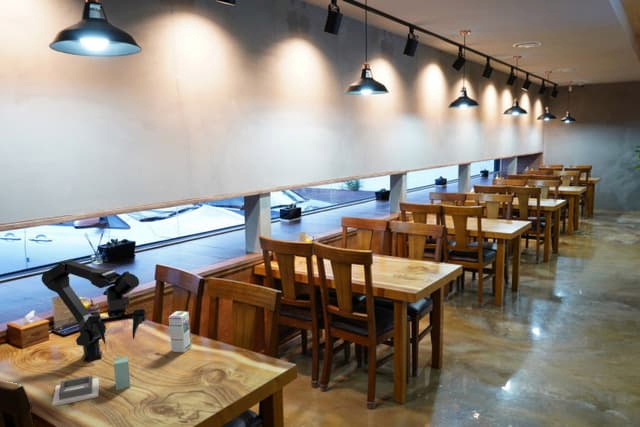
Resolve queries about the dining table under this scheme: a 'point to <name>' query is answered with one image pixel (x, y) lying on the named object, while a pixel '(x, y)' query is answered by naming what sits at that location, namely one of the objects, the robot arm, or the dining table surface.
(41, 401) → the dining table surface
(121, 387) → the teal green block
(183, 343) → the syrup box
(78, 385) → the white grey square base
